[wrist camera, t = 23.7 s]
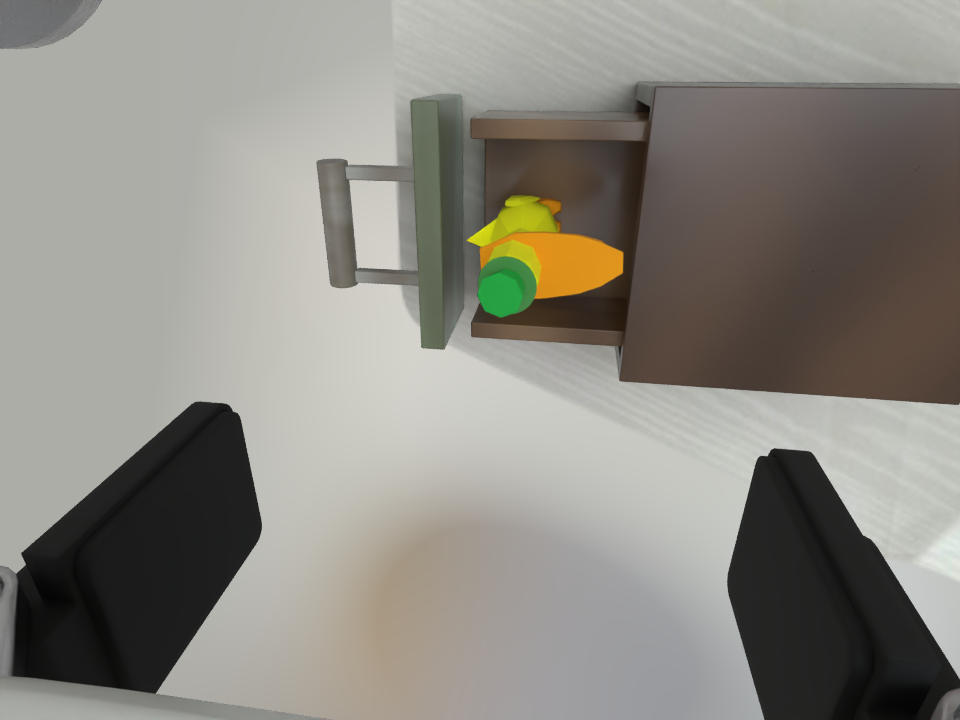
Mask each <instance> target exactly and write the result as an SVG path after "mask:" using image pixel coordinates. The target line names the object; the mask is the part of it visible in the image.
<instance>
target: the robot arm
mask: <svg viewBox="0 0 960 720" xmlns="http://www.w3.org/2000/svg"><path fill="white" fill-rule="evenodd" d="M261 530H262V522H261V516H260V512H259V507H258V502H257V497H256V492H255V487H254V482H253V478H252V473H251V468H250V463H249V458H248V453H247V448H246V443H245V438H244V433H243V428H242V424H241V419H240V416H239V415H238V413H236V412H233V411H232V409H231V407H230V406H229V405H227V404H223V403H211V402H195V403H193V404H191V405H190V406H189V407H188V408H187V409H186V410H185V411H183V412H182V413H181V414H180V415H179V416H178V417H176V418H175V419H174V420H173V421H172V422H171V423H170V424H169V425H167V426H166V427H165V428H164V429H163V430H162V431H160V432H159V433H158V434H157V435H156V436H155V437H154V438H152V439H151V440H150V441H149V442H148V443H147V444H146V445H145V446H143V447H142V448H141V449H140V450H139V451H138V452H136V453H135V454H134V455H133V456H132V457H131V458H130V459H129V460H127V461H126V462H125V463H124V464H123V465H122V466H120V467H119V468H118V469H117V470H116V471H115V472H114V473H113V474H112V475H110V476H109V477H108V478H107V479H106V480H104V481H103V482H102V483H101V484H100V485H99V486H98V487H97V488H95V489H94V490H93V491H92V492H91V493H90V494H88V495H87V496H86V497H85V498H84V499H83V500H82V501H80V502H79V503H78V504H77V505H76V506H75V507H74V508H72V509H71V510H70V511H69V512H68V513H67V514H66V515H64V516H63V517H62V518H61V519H60V520H59V521H58V522H57V523H55V524H54V525H53V526H52V527H51V528H50V529H48V530H47V531H46V532H45V533H44V534H43V535H42V536H40V538H38V539H37V540H36V541H35V542H34V543H32V544H31V545H30V546H29V547H28V548H27V549H26V550H24V551H23V552H22V553H21V554H22V557H23V559H24V561H25V563H26V566H24V567H23V568H22V569H21V570H20V571H19V572H18V573H17V574H16V573H15V572H13V571H12V570H11V569H10V568H8V567H4V566H0V720H331V719H324V718H318V717H311V716H304V715H298V714H291V713H284V712H277V711H270V710H264V709H257V708H250V707H243V706H235V705H229V704H221V703H215V702H208V701H201V700H194V699H186V698H181V697H174V696H166V695H160V694H156V692H157V691H158V689H159V688H160V686H161V685H162V683H163V681H164V680H165V679H166V677H167V676H168V674H169V673H170V671H171V670H172V668H173V667H174V665H175V664H176V662H177V661H178V659H179V658H180V656H181V655H182V653H183V652H184V650H185V649H186V647H187V646H188V644H189V643H190V642H191V640H192V639H193V637H194V636H195V634H196V633H197V631H198V630H199V628H200V627H201V625H202V624H203V622H204V621H205V619H206V617H207V616H208V615H209V613H210V612H211V610H212V609H213V607H214V606H215V604H216V603H217V601H218V600H219V598H220V597H221V595H222V594H223V592H224V591H225V589H226V588H227V587H228V585H229V583H230V582H231V581H232V579H233V578H234V576H235V575H236V573H237V571H238V570H239V569H240V567H241V566H242V564H243V563H244V561H245V560H246V558H247V557H248V555H249V554H250V552H251V551H252V549H253V548H254V546H255V545H256V543H257V542H258V540H259V537H260V534H261ZM727 583H728V584H727V585H728V593H729V597H730V601H731V604H732V608H733V612H734V615H735V618H736V622H737V625H738V629H739V632H740V636H741V639H742V643H743V646H744V649H745V653H746V657H747V660H748V663H749V667H750V671H751V674H752V678H753V681H754V685H755V688H756V691H757V695H758V698H759V702H760V705H761V709H762V712H763V716H764V719H765V720H960V679H959V678H958V676H957V674H956V673H955V671H954V669H953V668H952V666H951V665H950V663H949V661H948V660H947V658H946V657H945V655H944V654H943V652H942V650H941V648H940V647H939V645H938V644H937V642H936V641H935V639H934V637H933V636H932V634H931V633H930V631H929V629H928V628H927V626H926V625H925V623H924V621H923V620H922V618H921V617H920V615H919V613H918V612H917V610H916V609H915V607H914V605H913V604H912V602H911V601H910V599H909V597H908V596H907V594H906V593H905V591H904V589H903V588H902V586H901V585H900V583H899V581H898V580H897V578H896V577H895V575H894V573H893V572H892V570H891V569H890V567H889V565H888V564H887V562H886V561H885V559H884V557H883V556H882V554H881V553H880V551H879V549H878V548H877V546H876V545H875V544H874V543H873V542H872V540H871V539H869V538H867V537H865V536H863V535H862V533H861V532H860V530H859V528H858V527H857V525H856V523H855V522H854V520H853V518H852V517H851V515H850V514H849V512H848V510H847V509H846V507H845V505H844V504H843V502H842V500H841V499H840V497H839V496H838V494H837V492H836V491H835V489H834V487H833V486H832V484H831V482H830V481H829V479H828V477H827V476H826V474H825V473H824V471H823V469H822V468H821V466H820V464H819V463H818V461H817V459H816V458H815V456H814V455H813V454H812V453H811V452H809V451H800V450H787V449H775V448H774V449H772V450H771V451H770V453H769V455H768V456H760V457H759V458H758V459H757V462H756V465H755V469H754V473H753V477H752V481H751V485H750V489H749V493H748V497H747V501H746V504H745V508H744V513H743V516H742V520H741V524H740V528H739V532H738V536H737V540H736V544H735V548H734V552H733V556H732V559H731V563H730V567H729V572H728V580H727Z"/></svg>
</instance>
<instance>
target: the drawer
mask: <svg viewBox="0 0 960 720" xmlns="http://www.w3.org/2000/svg"><path fill="white" fill-rule="evenodd" d="M649 113H650V112H585V111H509V110H488V111H486V112H484V113H482V114H480V115H478V116H476V117H473V118H471V138H472V139H485V227H486V226H487V225H488V224H490V223H491V222H492V221H494V220H495V219H497V218H498V215H499V213H500V211H501V209H502V208H503V207H505V206H506V205H505V202H506V200H507V199H508V198H510V197H511V196H512V195H527V196H535V197H539V198H540V199H542V198H551V199H554V200H558V201H561V207H562V211H561V212H559V213H556V214H554V215H553V217H554V219H555V220H556V221H559V222H560V223H561V232H560V233H570V234H580V235H584V236H587V237H591V238H595V239H598V240H601V241H602V242H604V243H605V244H606V245H608V246H610V247H612V248H615V249H617V250H619V251H622V252H623V273H622V274H620V275H619V276H617V277H615V278H614V279H612V280H610V281H609V282H607V283H605V284H604V285H602V286H600V287H597V288H594V289H591V290H588V291H585V292H582V293H579V294H573V295H565V296H558V297H551V298H541V299H534V300H533V301H532V303H531V305H530V306H528V307H527V308H526V309H525V310H523V311H521V312H519V313H516V314H510V315H507V316H505V317H502V318H501V317H498V316H496V315H493V314H491V313H489V312H486V311H485V310H484V308H483V306H482V304H481V302H480V303H479V305H478V308H477V310H476V313H475V315H474V318H473V320H472V322H471V336H472V337H479V338H495V339H511V340H527V341H543V342H559V343H575V344H591V345H607V346H622V339H623V331H624V322H625V314H626V306H627V297H628V289H629V280H630V272H631V264H632V255H633V247H634V239H635V230H636V222H637V214H638V205H639V197H640V188H641V180H642V172H643V163H644V155H645V147H646V138H647V130H648V122H649ZM411 123H412V146H413V166H376V165H375V166H374V165H348V163H347V160H344V159H323V160H318V161H317V171H318V179H319V189H320V198H321V206H322V215H323V224H324V233H325V242H326V250H327V259H328V268H329V277H330V284H331V286H333V287H336V288H349V287H353V286H355V285H357V284H358V283H377V284H397V285H415V286H419V304H420V326H421V347H422V348H428V349H445V347H446V345H447V343H448V340H449V338H450V336H451V334H452V332H453V330H454V328H455V326H456V323H457V321H458V319H459V317H460V315H461V313H462V311H463V309H464V252H463V143H462V95H461V94H438V95H433V96H428V97H423V98H418V99H413V100H411ZM349 180H375V181H409V182H414V191H415V213H416V236H417V258H418V271H409V270H388V269H368V268H358V269H357V261H356V250H355V239H354V229H353V217H352V206H351V196H350V185H349Z"/></svg>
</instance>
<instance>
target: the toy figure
mask: <svg viewBox="0 0 960 720" xmlns="http://www.w3.org/2000/svg"><path fill="white" fill-rule="evenodd" d="M505 205H506V206H505V207H503V208H502V209H501V211H500V213H499V215H498V218H497V219H495V220H494V221H492V222H491V223H490V224H488V225H487V226H486V227H484V228H483V229H481V230H480V231H479V232H477V233H476V234H475V235H473V236H472V237H470V238H469V239H468V240H467V241H469V242H471V243H474V244H476V245H478V246H481V248H480V262H481V272H480V274H479V278H478V289H479V291H478V294H477V296H478V298H479V300H480V302H481V304H482V306H483V308H484V310H485V311H486V312H489V313H491V314H493V315H496V316H498V317H501V318H502V317H505V316H507V315H510V314H516V313H519V312H521V311H523V310H525V309H526V308H527V307H528V306H530V305H531V303H532V301H533V300H534V299H541V298H551V297H558V296H565V295H573V294H579V293H582V292H585V291H588V290H591V289H594V288H597V287H600V286H602V285H604V284H605V283H607V282H609V281H610V280H612V279H614V278H615V277H617V276H619V275H620V274H622V273H623V252H622V251H619V250H617V249H615V248H612V247H610V246H608V245H606V244H605V243H604V242H602V241H601V240H598V239H595V238H591V237H587V236H584V235H580V234H570V233H560V232H561V223H560V222H559V221H556V220H555V219H554V217H553V215H554V214H556V213H559V212H561V211H562V207H561V201H558V200H554V199H551V198H542V199H540V198H539V197H535V196H527V195H512V196H511V197H510V198H508V199H507V200H506V202H505Z"/></svg>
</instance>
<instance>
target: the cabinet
mask: <svg viewBox="0 0 960 720" xmlns="http://www.w3.org/2000/svg"><path fill="white" fill-rule="evenodd" d="M634 112H650V113H649V122H648V130H647V138H646V147H645V155H644V163H643V172H642V180H641V188H640V197H639V205H638V214H637V222H636V230H635V239H634V247H633V255H632V264H631V272H630V280H629V289H628V297H627V306H626V314H625V322H624V331H623V339H622V346H615V351H616V359H617V366H618V374H619V381H624V382H638V383H652V384H666V385H681V386H695V387H709V388H724V389H738V390H752V391H766V392H781V393H795V394H809V395H824V396H838V397H852V398H866V399H881V400H895V401H909V402H924V403H938V404H952V405H959V403H960V84H904V83H755V82H638V83H637V87H636V96H635V105H634Z"/></svg>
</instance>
